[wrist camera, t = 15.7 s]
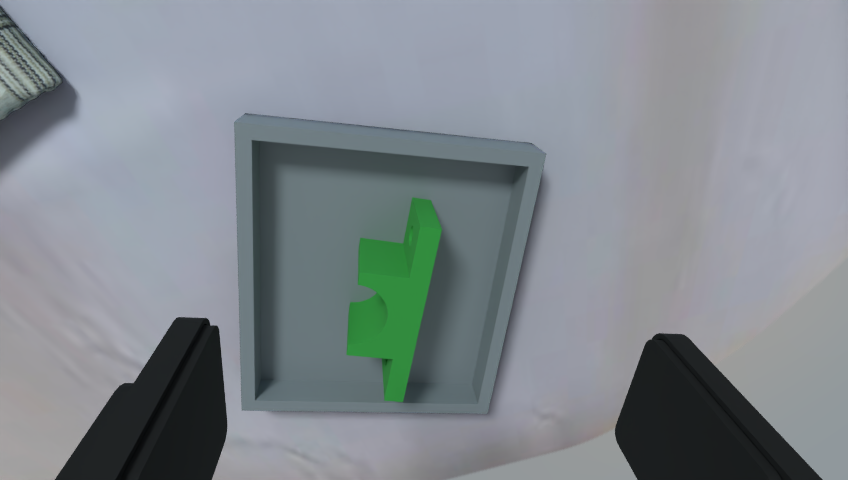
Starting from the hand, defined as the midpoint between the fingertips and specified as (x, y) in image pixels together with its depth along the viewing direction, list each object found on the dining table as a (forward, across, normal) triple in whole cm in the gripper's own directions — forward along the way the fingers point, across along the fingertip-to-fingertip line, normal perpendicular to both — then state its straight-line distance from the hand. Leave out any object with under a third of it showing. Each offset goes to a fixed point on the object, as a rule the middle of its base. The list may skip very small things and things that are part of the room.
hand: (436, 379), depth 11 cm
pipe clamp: (+18, 0, +8) cm, 20 cm away
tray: (+19, 0, +8) cm, 20 cm away
